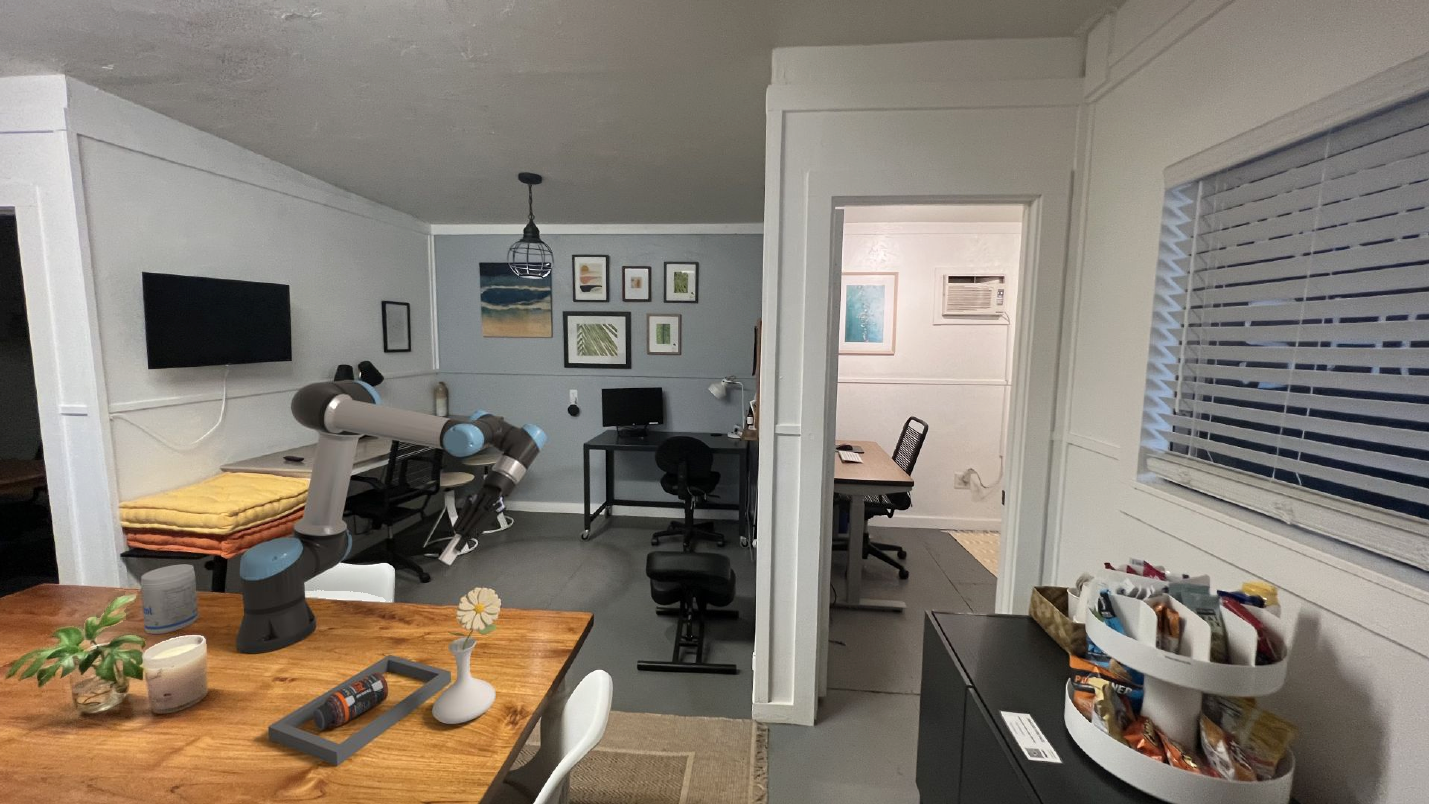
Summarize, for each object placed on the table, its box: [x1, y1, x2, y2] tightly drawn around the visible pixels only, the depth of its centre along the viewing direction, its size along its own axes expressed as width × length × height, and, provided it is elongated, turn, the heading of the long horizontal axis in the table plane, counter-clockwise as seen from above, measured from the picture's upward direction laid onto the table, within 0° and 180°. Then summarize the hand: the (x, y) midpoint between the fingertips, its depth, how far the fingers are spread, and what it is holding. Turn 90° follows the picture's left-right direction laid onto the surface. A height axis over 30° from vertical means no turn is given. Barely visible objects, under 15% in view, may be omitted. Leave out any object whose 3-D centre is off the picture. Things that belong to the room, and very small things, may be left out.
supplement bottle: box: [312, 673, 389, 731], centre depth 100 cm, size 6×6×11 cm
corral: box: [268, 654, 452, 767], centre depth 102 cm, size 18×24×2 cm
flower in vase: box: [431, 587, 502, 725], centre depth 101 cm, size 13×11×25 cm
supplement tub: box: [140, 563, 199, 635], centre depth 132 cm, size 10×10×15 cm
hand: (444, 562), depth 119 cm, fingers closed
